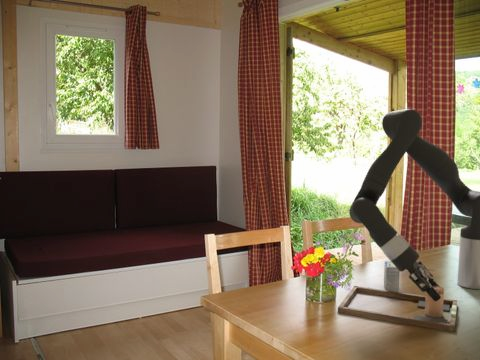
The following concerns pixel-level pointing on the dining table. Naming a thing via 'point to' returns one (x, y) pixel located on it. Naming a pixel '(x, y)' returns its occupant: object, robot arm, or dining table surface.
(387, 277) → the medicine box
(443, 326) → the box
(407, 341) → the dining table surface
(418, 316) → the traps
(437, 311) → the terracotta jar
